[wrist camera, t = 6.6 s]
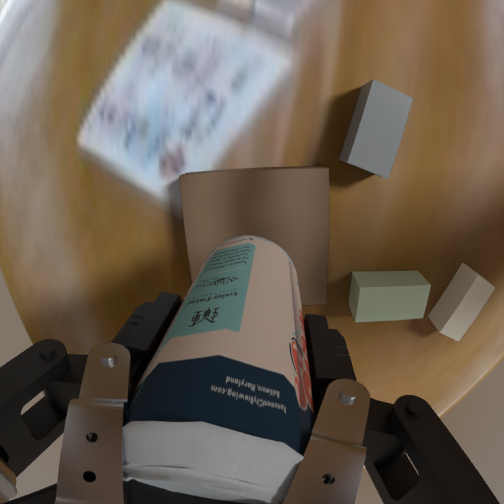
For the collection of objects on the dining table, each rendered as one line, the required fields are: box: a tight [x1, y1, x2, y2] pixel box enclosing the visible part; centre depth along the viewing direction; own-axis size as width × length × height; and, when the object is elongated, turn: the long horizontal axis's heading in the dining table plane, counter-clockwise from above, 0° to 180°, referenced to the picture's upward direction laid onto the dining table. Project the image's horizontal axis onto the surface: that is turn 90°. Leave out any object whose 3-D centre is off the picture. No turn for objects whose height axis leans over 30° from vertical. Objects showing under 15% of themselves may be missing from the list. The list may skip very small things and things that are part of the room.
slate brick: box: [339, 79, 413, 179], centre depth 18 cm, size 6×3×3 cm, turn 163°
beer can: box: [123, 235, 315, 504], centre depth 10 cm, size 5×5×12 cm
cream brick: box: [428, 262, 495, 342], centre depth 22 cm, size 6×3×3 cm, turn 155°
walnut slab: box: [179, 166, 329, 305], centre depth 22 cm, size 10×10×2 cm
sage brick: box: [348, 270, 431, 322], centre depth 23 cm, size 6×3×3 cm, turn 92°
